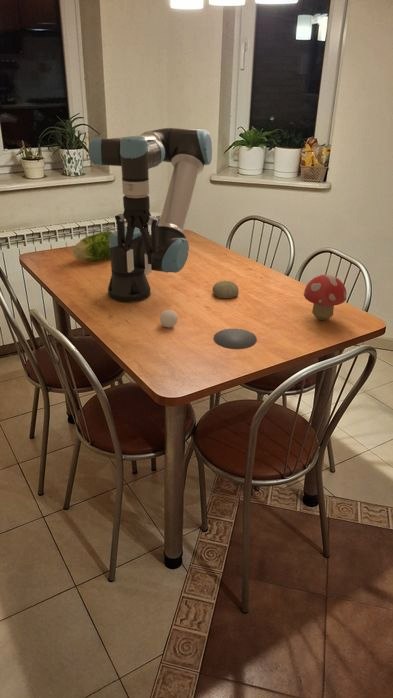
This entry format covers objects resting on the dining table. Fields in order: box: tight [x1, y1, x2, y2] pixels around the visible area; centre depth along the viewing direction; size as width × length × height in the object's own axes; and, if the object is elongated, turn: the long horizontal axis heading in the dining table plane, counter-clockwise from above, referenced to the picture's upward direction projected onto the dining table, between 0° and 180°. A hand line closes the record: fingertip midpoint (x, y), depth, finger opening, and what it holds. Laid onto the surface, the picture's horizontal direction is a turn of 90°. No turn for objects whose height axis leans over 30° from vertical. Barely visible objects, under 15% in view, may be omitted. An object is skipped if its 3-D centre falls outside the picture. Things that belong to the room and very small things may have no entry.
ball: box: [159, 309, 178, 328], centre depth 166 cm, size 6×6×6 cm
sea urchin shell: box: [212, 280, 239, 299], centre depth 190 cm, size 9×8×8 cm
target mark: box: [213, 328, 258, 350], centre depth 160 cm, size 13×13×1 cm
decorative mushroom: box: [303, 274, 347, 321], centre depth 169 cm, size 13×13×15 cm
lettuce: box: [72, 230, 114, 262], centre depth 220 cm, size 12×21×11 cm, turn 129°
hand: (139, 272), depth 162 cm, fingers open, 5 cm apart
